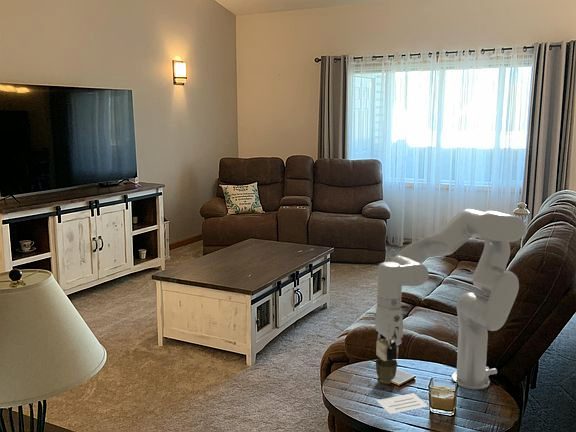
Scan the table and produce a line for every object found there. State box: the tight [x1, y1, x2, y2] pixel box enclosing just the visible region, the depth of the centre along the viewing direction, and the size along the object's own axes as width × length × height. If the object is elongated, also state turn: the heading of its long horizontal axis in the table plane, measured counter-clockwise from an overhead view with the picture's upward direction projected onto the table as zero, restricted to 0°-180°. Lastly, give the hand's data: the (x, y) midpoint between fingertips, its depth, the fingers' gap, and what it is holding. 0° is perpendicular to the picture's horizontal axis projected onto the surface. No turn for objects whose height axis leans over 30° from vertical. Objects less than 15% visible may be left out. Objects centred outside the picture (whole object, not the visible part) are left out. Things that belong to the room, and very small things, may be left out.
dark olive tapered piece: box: [375, 357, 398, 386], centre depth 199 cm, size 8×7×8 cm
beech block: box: [375, 338, 399, 361], centre depth 184 cm, size 5×5×5 cm
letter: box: [376, 392, 429, 415], centre depth 185 cm, size 14×9×1 cm, turn 109°
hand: (386, 355), depth 184 cm, fingers closed on beech block, 5 cm apart
